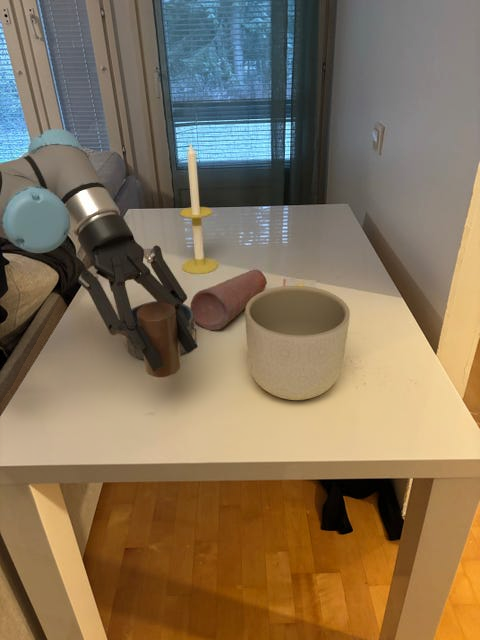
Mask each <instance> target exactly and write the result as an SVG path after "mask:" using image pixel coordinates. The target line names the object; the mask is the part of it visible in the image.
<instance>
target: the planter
mask: <svg viewBox="0 0 480 640" xmlns="http://www.w3.org/2000/svg"><path fill="white" fill-rule="evenodd" d="M244 310H245V311H244V316H245V317H244V318H245V319H244V320H245V336H246V351H247V361H248V365H249V366H248V367H249V370H250V373H251V375H252V377H253V379H254V381H255V382H256V383H257V384H258V386H259V387H260V388H262V389H263V390H264V391H266V392H267V393H269V394H270V395H272V396H275V397H277V398H281V399H284V400H288V401H289V400H290V401H304V400H308V399H312V398H315V397H318V396H320V395H322V394H324V393H325V392H327V391H328V390H329V389H331V387H332V386H333V385H334V384H335V383H336V381H337V380H338V378H339V375H340V372H341V370H342V366H343V362H344V357H345V351H346V344H347V338H348V332H349V326H350V318H351V317H350V315H351V313H350V312H351V311H350V308H349V306H348V305H347V303H346V302H345V301H344V300H343V299H342V298H341V297H339V296H338V295H336V294H334V293H332V292H330V291H327V290H325V289H321V288H318V287H316V288H313V287H307V286H283V285H282V286H276V287H272V288H268V289H264V291H262V292H260V293H258V294H257V295H255V296H254V297H252V298H251V299H250V300H249V302H248V303H247V305H246V307H245V308H244Z"/></svg>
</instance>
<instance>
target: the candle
mask: <svg viewBox="0 0 480 640" xmlns="http://www.w3.org/2000/svg"><path fill="white" fill-rule="evenodd" d="M186 157H187V168H188V169H187V171H188V182H189V194H190V203H191V204H190V206H191V207H185V208H182V209H181V210H180V211H179V216H180V217H182V218H185V219H191V227H192V236H193V237H192V238H193V239H192V240H193V249H194V250H193V252H194V258H191V259H188V260H186V261H184V262H183V263H182V264H181V269H182V271H184V272H185V273H188V274H193V275H202V274H204V275H205V274H208V273H212V272H214V271H215V270H217V268H218V267H219V264H218V262H217V261H216V260H215V259H212V258H208V257H205V253H204V252H205V251H204V239H203V238H204V237H203V225H202V218H206V217H210V216H211V215H212V214H213V210H212V208H210V207H207V206H200V194H199V193H200V192H199V179H198V167H197V153H196V151H195V150H194V148H193V145H192V142H191V141H190V144H189V148H188V151H187V153H186Z"/></svg>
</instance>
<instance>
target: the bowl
mask: <svg viewBox="0 0 480 640" xmlns="http://www.w3.org/2000/svg"><path fill="white" fill-rule="evenodd" d="M154 302H157V300H153V301H148V302H145V303H141V304H138V305H137V306H134V307H131V310H132V314H133V317H134V321H135V327H136V328H137V327H138V326H139V324H138V317H137V311H138V310H139V309H140V308H141V307H142V306H144V305H146V304H149V303H154ZM181 310H182V311H183V313H184V315H185V317H186V318H187V320H188V322H189V324H190V327H188V328H187V329H188V330H189V332H190V334H191V335H192V337H193V339H194V341H195V342H196V327H195V320H194V315H193V311H192V310H191V306H188V305H187V304H184V303H183V304H182V305H181ZM123 339H124V345H125V348H126V350H127V352H128V353H129V354H131V355H132V356H133V357H136V358H138V359H141V360H144V355H143V352H142V351H141V352H139V353H137V352H136V351H135V350H134V348H133V346H132V344H131V343H130V341H129V339H128V337H127V336H123ZM179 349H180V356H181V355H182V354H184V353H186V351H185V350H184V348H183V346H182V344H181V343H180V341H179Z"/></svg>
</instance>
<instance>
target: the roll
mask: <svg viewBox="0 0 480 640" xmlns="http://www.w3.org/2000/svg"><path fill="white" fill-rule="evenodd" d="M137 317H138V324H139V326H141V325H142V327H143V328H144V330H145V332H146V333H147V335H148V337H149V339H150V340H151V342H152V344H153V346H154V347H155V349H156V351H157V353H158V354H159V356H160V358H161V360H162V361H163V363H164V365H163V366H162V367H161V368H159V369H158V370H156V371H154V372H153V370H152V368H151V366H150V365H149V363H148V361H147V359H146V358H145V356H144V359H143V361H144V367H145V368H144V369H145V372H146V373H147V374H148V375H149V376H151V377H154V378H168V377H170V376H173V375H175V374H177V373H178V372H179V371H180V370H181V368H182V359H181V355H180V349H179V339H178V330H177V321H176V312H175V307H174V306H173V305H171V304H169V303H165V302H154V303H149V304H146V305H144V306H142V307H141V308H140V309H139V310H138V311H137ZM143 355H144V354H143Z"/></svg>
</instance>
